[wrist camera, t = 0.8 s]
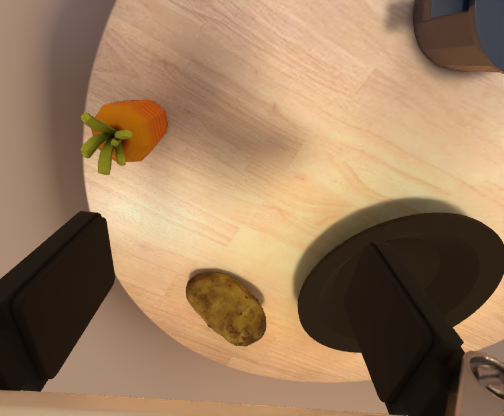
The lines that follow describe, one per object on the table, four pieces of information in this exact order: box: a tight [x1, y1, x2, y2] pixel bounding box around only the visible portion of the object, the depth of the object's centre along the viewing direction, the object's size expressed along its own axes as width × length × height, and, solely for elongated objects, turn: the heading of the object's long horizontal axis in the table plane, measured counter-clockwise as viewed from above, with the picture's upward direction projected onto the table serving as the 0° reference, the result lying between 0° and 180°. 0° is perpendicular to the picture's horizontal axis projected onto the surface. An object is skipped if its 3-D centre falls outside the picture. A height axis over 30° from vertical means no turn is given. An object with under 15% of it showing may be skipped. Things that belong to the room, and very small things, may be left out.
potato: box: [186, 273, 266, 346], centre depth 40 cm, size 8×13×8 cm, turn 38°
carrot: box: [80, 100, 168, 175], centre depth 24 cm, size 5×5×15 cm
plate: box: [298, 213, 504, 353], centre depth 39 cm, size 28×24×6 cm
